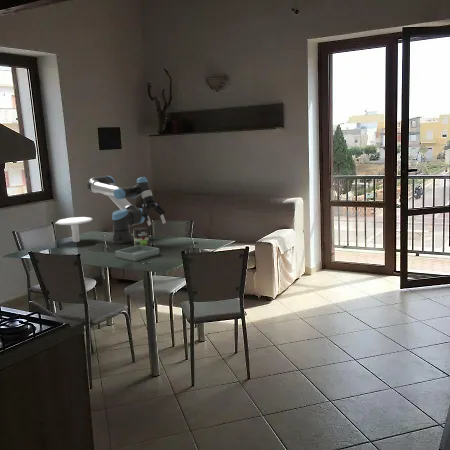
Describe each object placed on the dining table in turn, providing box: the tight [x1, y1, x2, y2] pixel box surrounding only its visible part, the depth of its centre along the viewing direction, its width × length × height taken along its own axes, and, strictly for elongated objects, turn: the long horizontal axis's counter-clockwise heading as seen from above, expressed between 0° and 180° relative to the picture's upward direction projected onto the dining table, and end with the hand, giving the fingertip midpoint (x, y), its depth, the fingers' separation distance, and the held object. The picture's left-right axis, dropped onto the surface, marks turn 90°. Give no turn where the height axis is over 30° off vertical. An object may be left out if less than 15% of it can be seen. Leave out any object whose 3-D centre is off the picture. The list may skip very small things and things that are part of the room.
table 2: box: [54, 216, 94, 243], centre depth 367 cm, size 28×28×17 cm
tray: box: [114, 245, 160, 262], centre depth 313 cm, size 20×20×4 cm
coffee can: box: [132, 226, 150, 247], centre depth 334 cm, size 10×10×14 cm
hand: (157, 224), depth 348 cm, fingers open, 13 cm apart
